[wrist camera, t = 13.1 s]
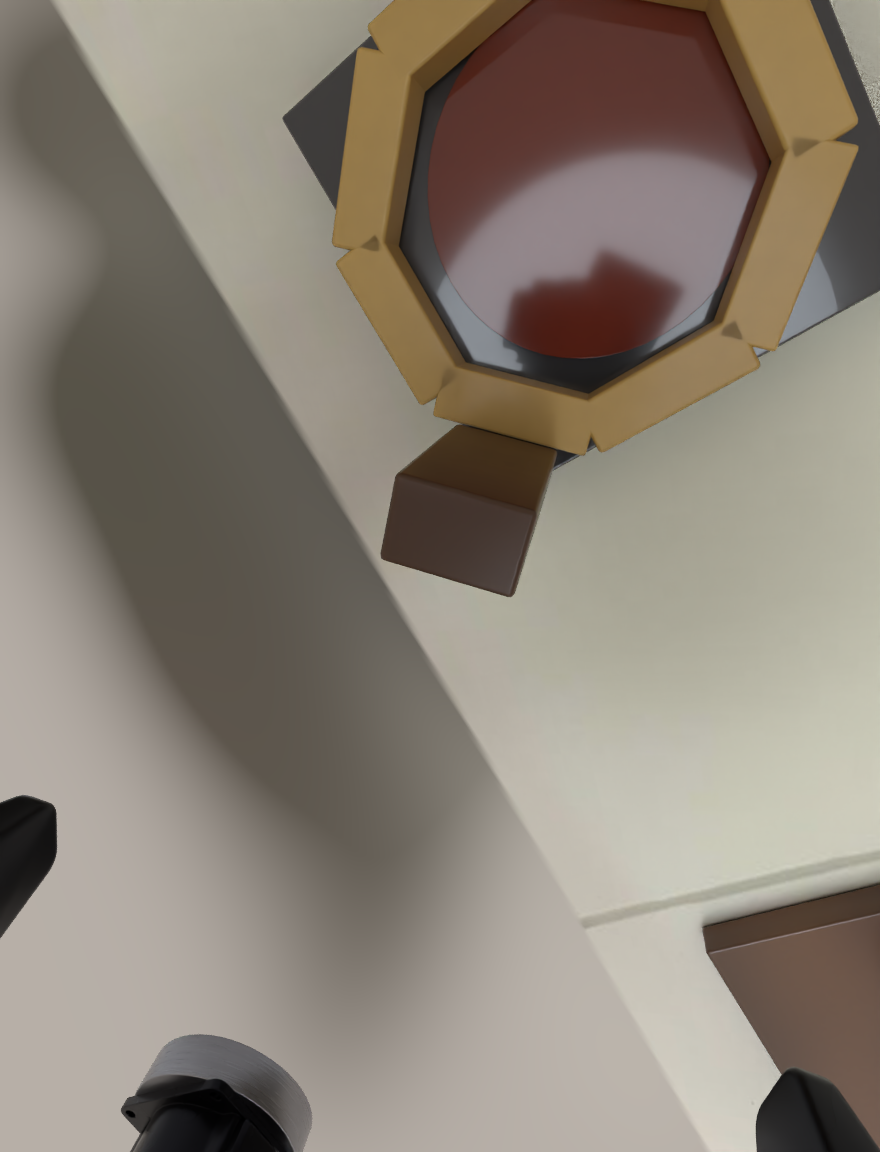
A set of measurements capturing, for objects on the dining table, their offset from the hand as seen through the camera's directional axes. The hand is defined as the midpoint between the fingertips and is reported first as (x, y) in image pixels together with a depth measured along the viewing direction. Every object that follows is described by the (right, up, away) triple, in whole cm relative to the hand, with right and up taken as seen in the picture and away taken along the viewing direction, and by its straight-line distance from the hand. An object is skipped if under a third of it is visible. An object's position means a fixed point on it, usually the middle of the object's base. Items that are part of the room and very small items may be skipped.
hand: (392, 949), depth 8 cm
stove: (+4, +13, +8) cm, 16 cm away
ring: (+3, +12, +6) cm, 14 cm away
